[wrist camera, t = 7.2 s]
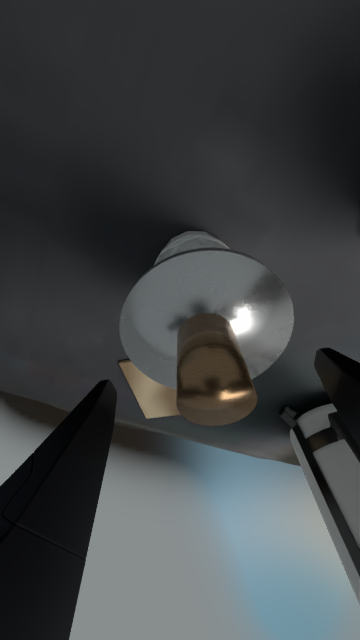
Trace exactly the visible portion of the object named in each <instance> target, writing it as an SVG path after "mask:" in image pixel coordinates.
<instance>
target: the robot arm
mask: <svg viewBox="0 0 360 640" xmlns="http://www.w3.org/2000/svg"><path fill="white" fill-rule="evenodd" d="M314 366H315V369H316V371H317V373H318V375H319V377H320V379H321V381H322V383H323V385H324V388H325V390H326V392H327V394H328V396H329V398H330V400H331V402H332V403H333V405H334V407H335V408H336V410H337V412H338V413H339V415H340V416H341V418H342V420H343V421H344V423H345V424H346V426H347V428H348V429H349V431H350V432H351V434H352V436H353V437H354V439H355V440H356V442H357V444H358V445H359V447H360V363H359V362H357V361H355V360H353V359H351V358H349V357H347V356H345V355H343V354H341V353H339V352H337V351H335V350H333V349H331V348H321V349H318V350H317V352H316V357H315V362H314ZM116 401H117V391H116V389H115V387H114V386H113V384H112V382H111V381H110V380H102V381H100V382H99V383H98V384H97V385H96V386H95V387H94V388H93V389H92V390H91V391H90V392H89V393H88V394H87V396H86V397H85V398H84V399H83V400H82V401H81V402H80V403H79V404H78V405H77V406H76V407H75V408H74V409H73V410H72V412H71V413H70V414H69V415H68V416H67V417H66V418H65V419H64V420H63V421H62V422H61V423H60V424H59V426H58V427H57V428H56V429H55V430H54V431H53V432H52V433H51V434H50V435H49V436H48V437H47V438H46V439H45V440H44V442H43V443H42V444H41V445H40V446H39V447H38V448H37V449H36V450H35V451H34V453H32V454H31V455H30V456H29V457H28V459H27V460H26V461H25V462H24V463H23V464H22V465H21V466H20V467H19V468H18V469H17V470H16V471H15V472H14V473H13V474H12V475H11V476H10V477H9V478H8V479H7V480H6V481H5V482H4V483H3V484H2V485H1V486H0V640H69V636H70V632H71V627H72V622H73V618H74V613H75V608H76V603H77V598H78V594H79V589H80V584H81V580H82V575H83V571H84V566H85V561H86V556H87V551H88V546H89V541H90V537H91V532H92V527H93V523H94V518H95V513H96V508H97V504H98V499H99V495H100V490H101V485H102V481H103V476H104V471H105V467H106V461H107V457H108V452H109V448H110V443H111V438H112V433H113V428H114V420H115V410H116Z"/></svg>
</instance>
